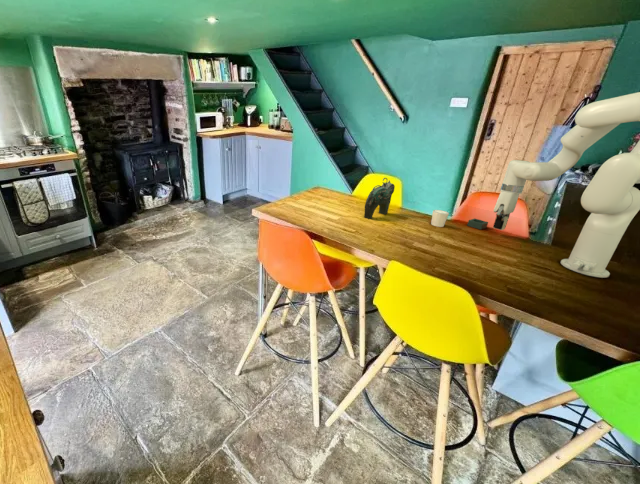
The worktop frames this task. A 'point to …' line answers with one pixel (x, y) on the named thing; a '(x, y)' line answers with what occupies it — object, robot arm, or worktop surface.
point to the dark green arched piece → (379, 199)
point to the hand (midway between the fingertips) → (499, 227)
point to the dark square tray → (477, 224)
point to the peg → (504, 223)
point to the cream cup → (439, 218)
